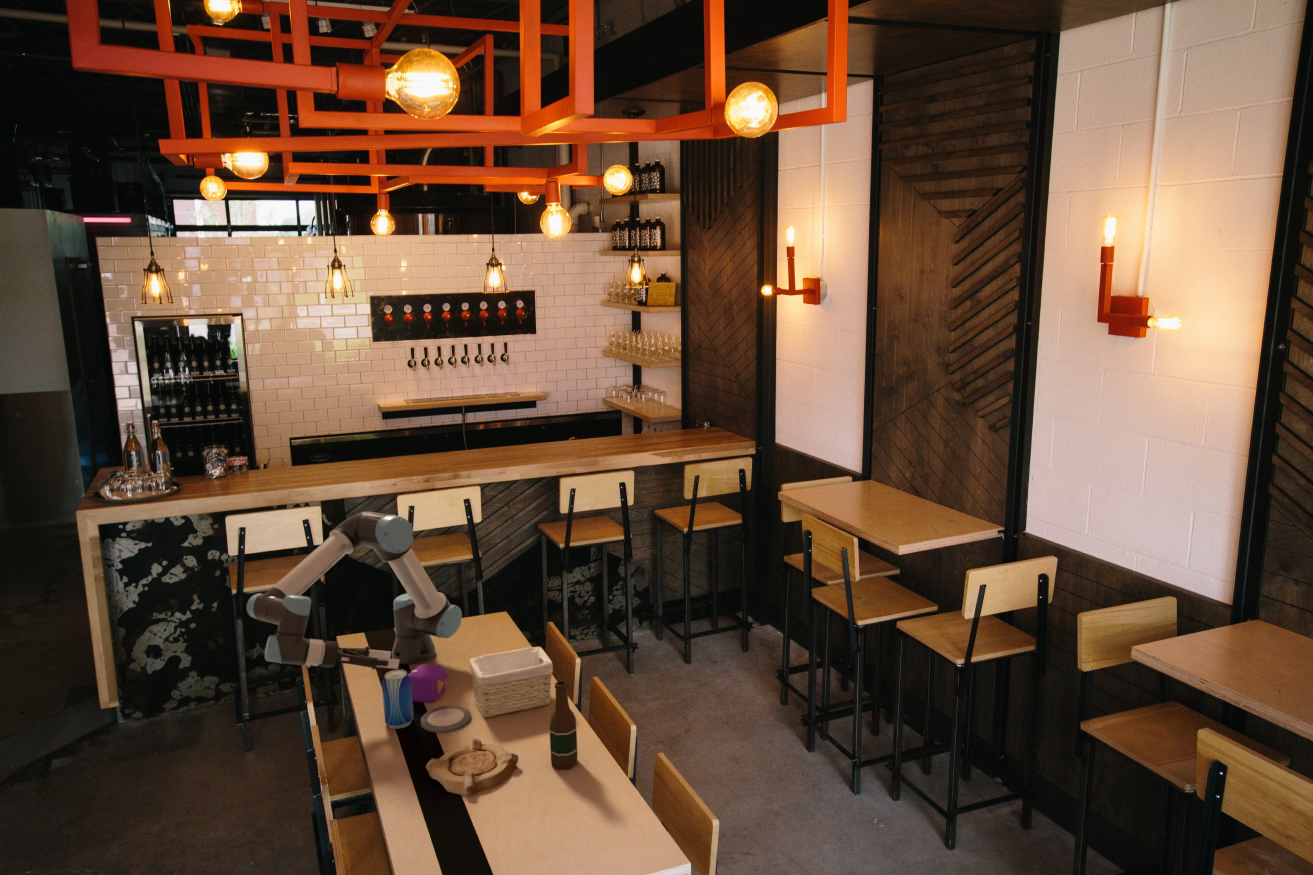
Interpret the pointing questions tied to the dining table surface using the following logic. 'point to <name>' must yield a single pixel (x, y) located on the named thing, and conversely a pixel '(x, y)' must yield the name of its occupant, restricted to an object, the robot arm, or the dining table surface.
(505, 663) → the storage basket
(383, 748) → the dining table surface
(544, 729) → the dining table surface
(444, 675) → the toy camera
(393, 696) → the beer can
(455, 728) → the coaster plate
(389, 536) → the robot arm
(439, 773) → the ashtray
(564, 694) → the beer bottle
